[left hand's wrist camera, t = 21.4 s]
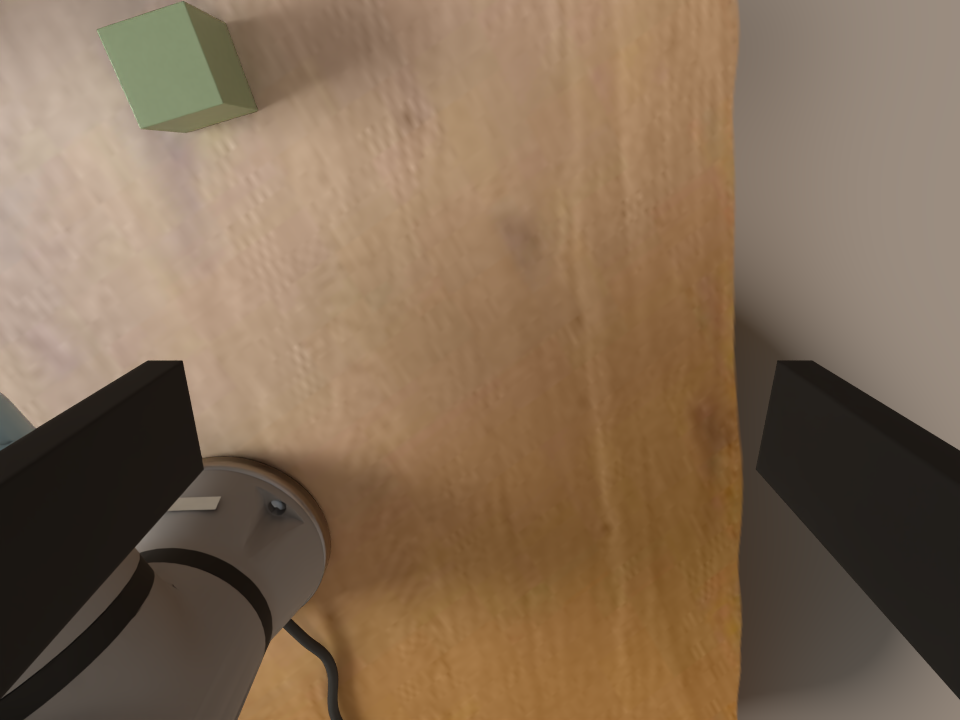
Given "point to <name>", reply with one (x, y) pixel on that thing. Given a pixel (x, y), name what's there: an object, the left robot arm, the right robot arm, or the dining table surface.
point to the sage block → (178, 69)
